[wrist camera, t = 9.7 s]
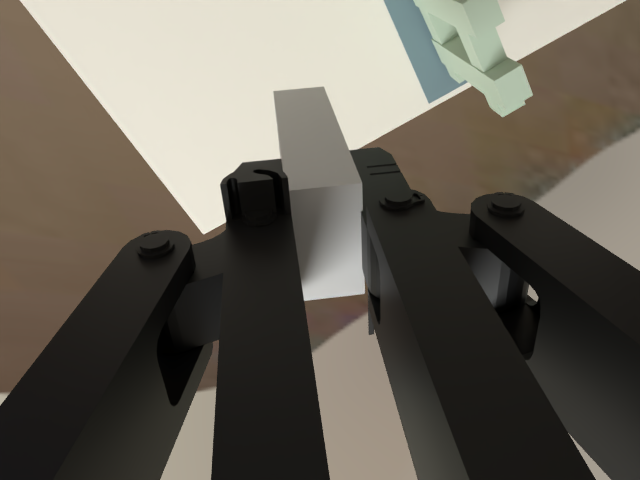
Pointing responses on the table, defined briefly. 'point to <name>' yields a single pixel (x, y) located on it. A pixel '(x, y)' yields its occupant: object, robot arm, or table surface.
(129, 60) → the card
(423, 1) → the fence gate
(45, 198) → the table surface
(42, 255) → the table surface
